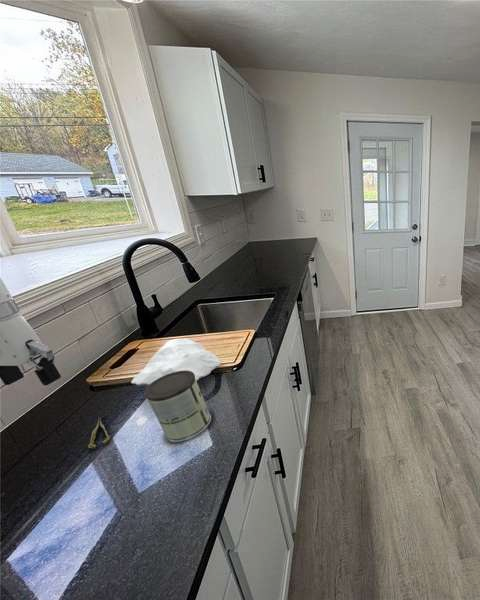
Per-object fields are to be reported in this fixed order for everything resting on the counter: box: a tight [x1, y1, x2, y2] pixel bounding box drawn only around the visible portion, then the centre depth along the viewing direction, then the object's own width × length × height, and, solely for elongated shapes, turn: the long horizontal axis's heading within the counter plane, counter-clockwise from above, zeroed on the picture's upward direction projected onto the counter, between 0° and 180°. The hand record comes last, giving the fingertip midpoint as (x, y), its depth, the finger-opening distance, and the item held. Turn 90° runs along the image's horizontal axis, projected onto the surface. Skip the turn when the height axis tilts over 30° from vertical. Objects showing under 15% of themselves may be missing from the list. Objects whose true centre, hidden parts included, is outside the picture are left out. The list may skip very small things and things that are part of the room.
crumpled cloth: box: [130, 338, 222, 386], centre depth 102 cm, size 24×35×9 cm
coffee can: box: [143, 370, 212, 443], centre depth 79 cm, size 10×10×14 cm
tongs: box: [87, 417, 111, 449], centre depth 81 cm, size 4×13×2 cm, turn 46°
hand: (33, 381), depth 70 cm, fingers open, 9 cm apart
